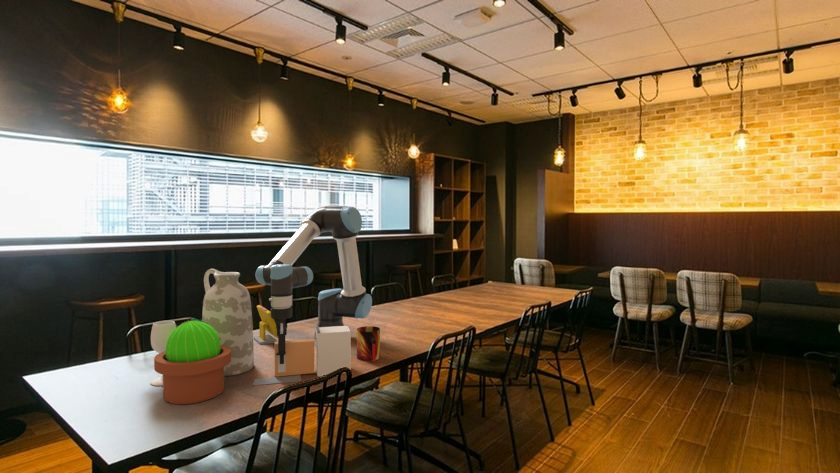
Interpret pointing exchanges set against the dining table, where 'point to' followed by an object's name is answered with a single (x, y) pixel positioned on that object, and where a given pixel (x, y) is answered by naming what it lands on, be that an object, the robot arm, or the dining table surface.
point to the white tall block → (332, 349)
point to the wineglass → (161, 341)
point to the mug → (368, 343)
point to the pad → (277, 380)
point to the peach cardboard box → (297, 357)
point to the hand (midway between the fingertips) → (281, 370)
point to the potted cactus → (192, 363)
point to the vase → (230, 318)
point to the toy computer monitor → (266, 327)
